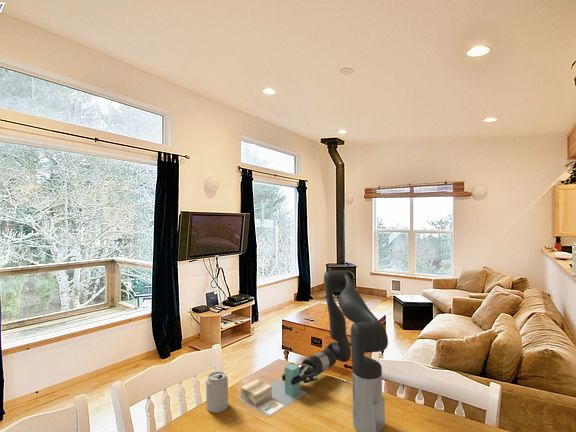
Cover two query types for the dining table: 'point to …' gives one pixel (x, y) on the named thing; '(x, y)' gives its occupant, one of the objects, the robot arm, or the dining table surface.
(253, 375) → the dining table surface
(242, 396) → the base block
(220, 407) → the can
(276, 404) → the mat
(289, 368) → the pillar
